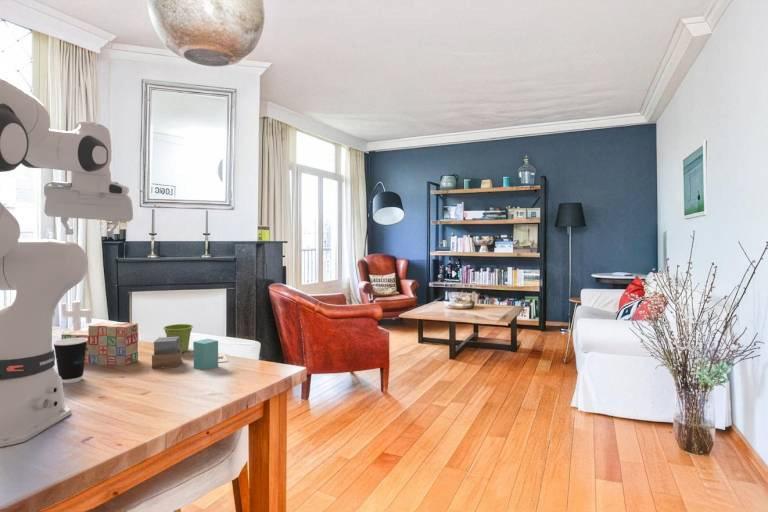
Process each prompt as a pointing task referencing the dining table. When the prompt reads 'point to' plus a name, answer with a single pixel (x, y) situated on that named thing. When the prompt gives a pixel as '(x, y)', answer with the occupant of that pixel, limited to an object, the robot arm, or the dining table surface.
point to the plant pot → (180, 334)
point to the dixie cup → (70, 358)
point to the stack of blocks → (109, 343)
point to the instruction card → (222, 358)
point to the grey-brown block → (166, 352)
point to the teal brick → (205, 354)
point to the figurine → (76, 315)
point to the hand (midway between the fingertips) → (90, 235)
